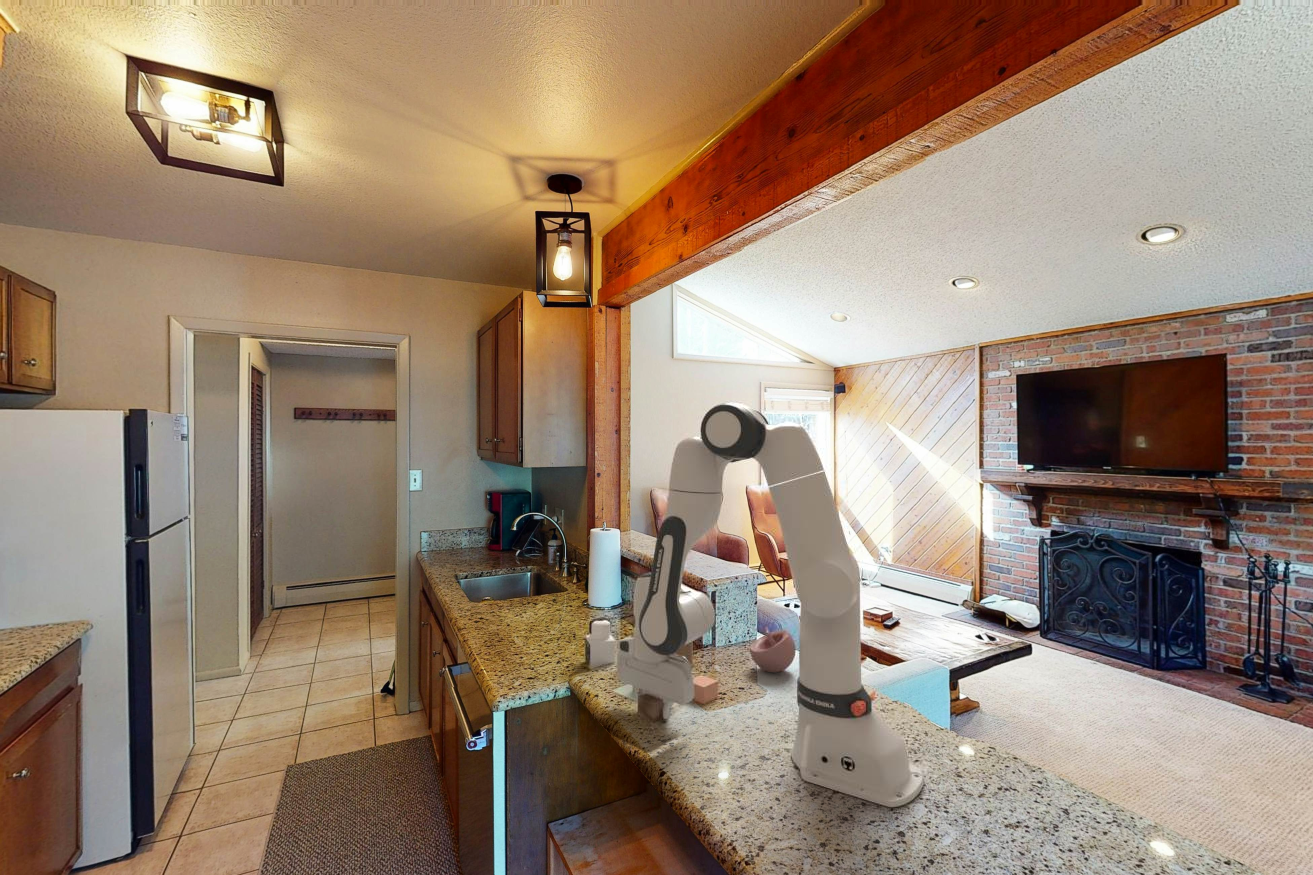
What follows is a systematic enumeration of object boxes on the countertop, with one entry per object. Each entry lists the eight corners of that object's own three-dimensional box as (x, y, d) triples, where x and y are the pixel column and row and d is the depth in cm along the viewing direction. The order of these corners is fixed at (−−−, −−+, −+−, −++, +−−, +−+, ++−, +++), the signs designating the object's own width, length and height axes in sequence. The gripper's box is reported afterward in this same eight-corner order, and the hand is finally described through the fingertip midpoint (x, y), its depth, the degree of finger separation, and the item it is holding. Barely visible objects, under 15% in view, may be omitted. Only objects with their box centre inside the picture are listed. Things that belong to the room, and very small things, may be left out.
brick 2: (718, 702, 128) (717, 680, 128) (704, 709, 124) (704, 687, 125) (701, 696, 131) (701, 675, 132) (687, 703, 128) (687, 681, 128)
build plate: (683, 694, 132) (683, 689, 132) (647, 711, 123) (647, 705, 123) (647, 681, 140) (647, 676, 140) (611, 695, 132) (611, 690, 132)
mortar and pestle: (747, 662, 154) (746, 620, 154) (790, 662, 153) (790, 620, 154) (752, 679, 142) (752, 633, 142) (800, 679, 141) (799, 634, 142)
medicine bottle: (584, 660, 155) (585, 617, 155) (609, 658, 157) (609, 615, 158) (589, 670, 148) (589, 624, 149) (615, 667, 150) (615, 622, 151)
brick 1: (670, 719, 119) (670, 696, 119) (654, 728, 116) (654, 703, 116) (653, 712, 123) (653, 689, 123) (637, 720, 119) (637, 696, 119)
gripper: (700, 654, 115) (700, 722, 114) (632, 633, 129) (632, 694, 128) (680, 662, 110) (680, 733, 110) (612, 639, 125) (611, 702, 124)
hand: (654, 712), depth 119 cm, fingers closed on brick 1, 5 cm apart
